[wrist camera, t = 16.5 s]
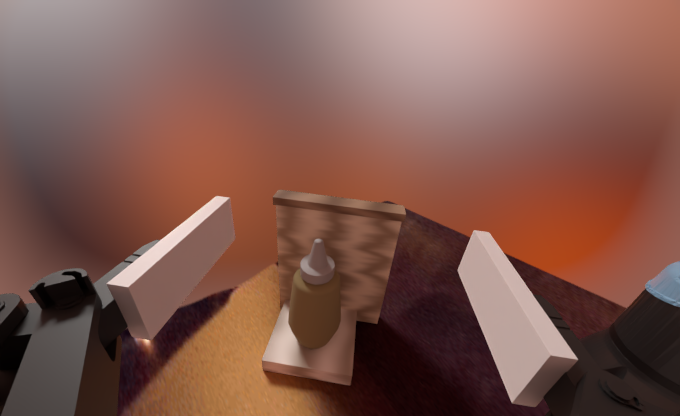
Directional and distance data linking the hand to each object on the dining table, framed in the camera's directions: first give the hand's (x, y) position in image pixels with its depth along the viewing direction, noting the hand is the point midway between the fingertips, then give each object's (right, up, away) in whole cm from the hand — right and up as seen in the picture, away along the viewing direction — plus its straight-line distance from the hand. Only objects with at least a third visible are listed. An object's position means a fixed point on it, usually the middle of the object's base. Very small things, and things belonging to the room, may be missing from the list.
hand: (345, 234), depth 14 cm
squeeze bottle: (-4, -19, +27) cm, 33 cm away
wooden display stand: (-3, -20, +29) cm, 36 cm away
